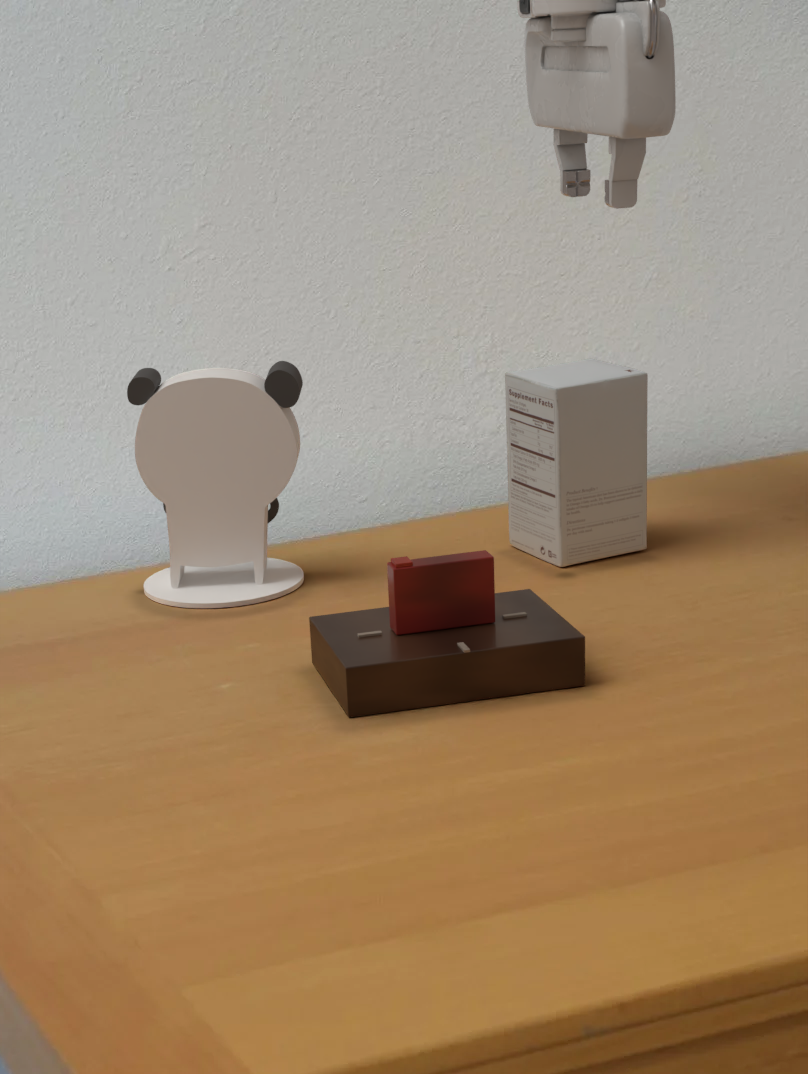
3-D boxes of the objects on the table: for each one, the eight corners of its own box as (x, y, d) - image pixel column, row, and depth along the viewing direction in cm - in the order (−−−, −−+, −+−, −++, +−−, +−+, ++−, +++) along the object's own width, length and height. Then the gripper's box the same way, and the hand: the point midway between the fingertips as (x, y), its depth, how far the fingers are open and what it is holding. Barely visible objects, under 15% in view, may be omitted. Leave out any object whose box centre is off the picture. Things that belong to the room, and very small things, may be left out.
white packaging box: (593, 529, 135) (593, 356, 130) (649, 551, 128) (651, 370, 123) (505, 545, 132) (501, 370, 127) (558, 569, 126) (556, 385, 121)
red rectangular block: (487, 615, 108) (486, 545, 106) (495, 622, 107) (494, 552, 105) (389, 627, 107) (386, 557, 106) (396, 635, 106) (393, 565, 104)
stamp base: (530, 634, 114) (529, 585, 113) (586, 686, 105) (586, 634, 103) (311, 662, 112) (308, 613, 111) (348, 718, 103) (345, 665, 101)
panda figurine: (317, 556, 133) (304, 348, 127) (309, 603, 123) (294, 379, 117) (154, 564, 134) (134, 359, 128) (133, 611, 124) (110, 390, 118)
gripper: (704, -24, 112) (697, 210, 118) (594, -15, 131) (592, 187, 137) (606, -17, 112) (604, 218, 117) (509, -9, 130) (511, 193, 136)
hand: (597, 201), depth 127 cm, fingers open, 8 cm apart
